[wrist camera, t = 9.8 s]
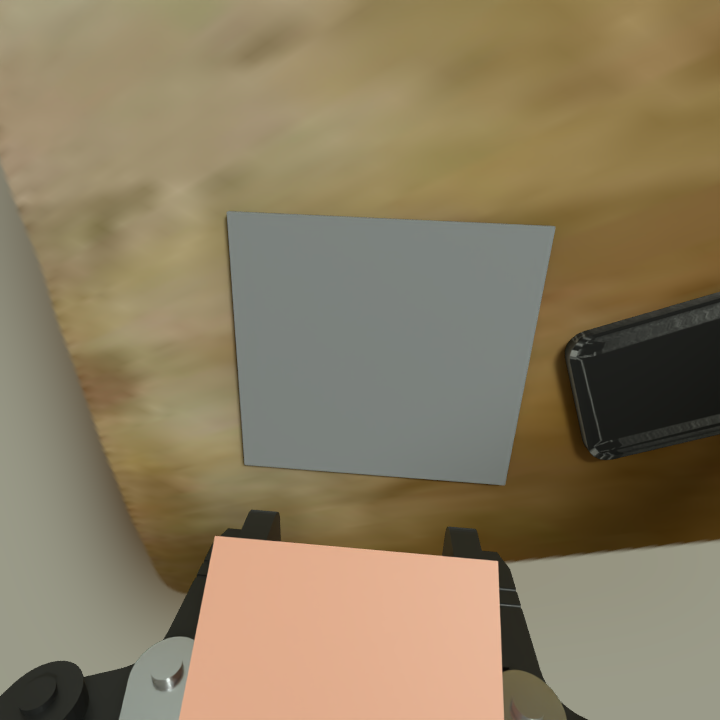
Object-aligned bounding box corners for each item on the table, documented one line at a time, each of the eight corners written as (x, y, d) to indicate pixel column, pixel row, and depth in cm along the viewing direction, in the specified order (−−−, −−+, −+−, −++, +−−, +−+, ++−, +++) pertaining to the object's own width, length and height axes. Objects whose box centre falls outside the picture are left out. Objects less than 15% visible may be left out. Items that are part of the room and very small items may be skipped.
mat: (552, 226, 21) (555, 226, 21) (503, 481, 27) (504, 485, 27) (229, 211, 22) (226, 211, 22) (246, 461, 28) (244, 464, 28)
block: (285, 659, 14) (157, 825, 6) (300, 543, 16) (215, 536, 7) (423, 673, 14) (509, 869, 5) (426, 555, 16) (497, 561, 7)
